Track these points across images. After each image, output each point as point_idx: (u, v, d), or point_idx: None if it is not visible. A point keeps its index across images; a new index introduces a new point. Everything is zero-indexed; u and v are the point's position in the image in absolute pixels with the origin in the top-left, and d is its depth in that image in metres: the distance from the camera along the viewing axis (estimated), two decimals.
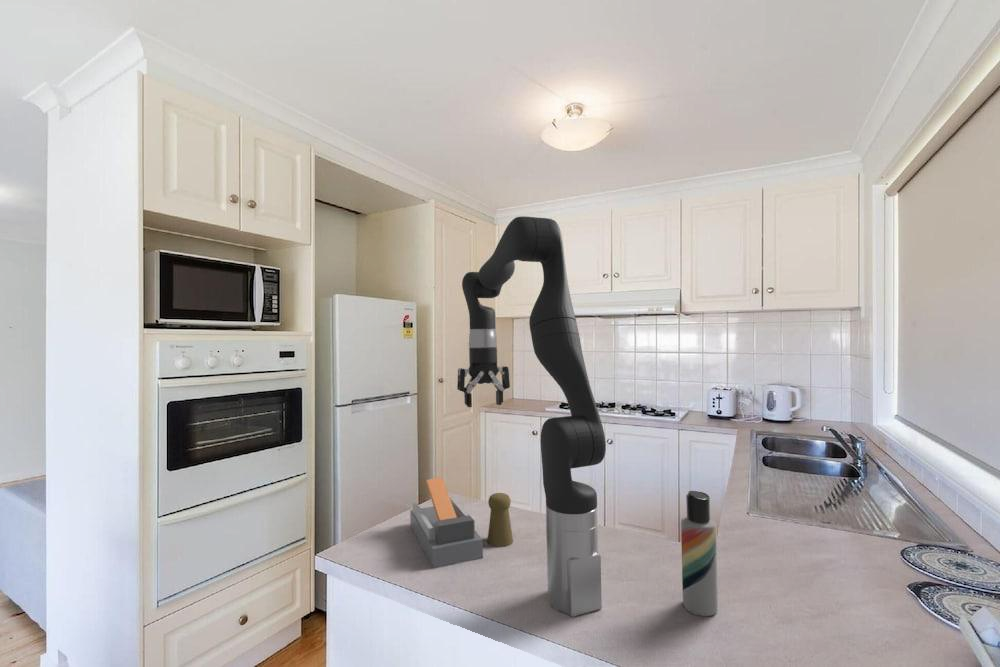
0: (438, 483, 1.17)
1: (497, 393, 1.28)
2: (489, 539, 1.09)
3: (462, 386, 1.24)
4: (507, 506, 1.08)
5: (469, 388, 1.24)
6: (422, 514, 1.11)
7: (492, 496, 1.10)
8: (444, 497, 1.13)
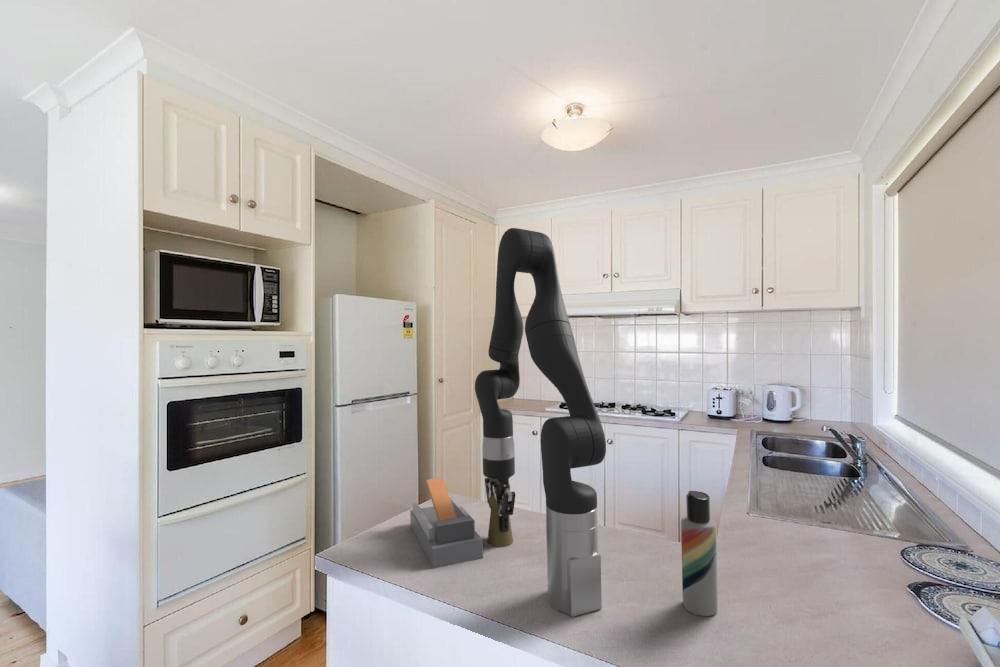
0: (438, 483, 1.17)
1: None
2: (489, 539, 1.09)
3: None
4: None
5: None
6: (422, 514, 1.11)
7: (492, 496, 1.10)
8: (444, 497, 1.13)
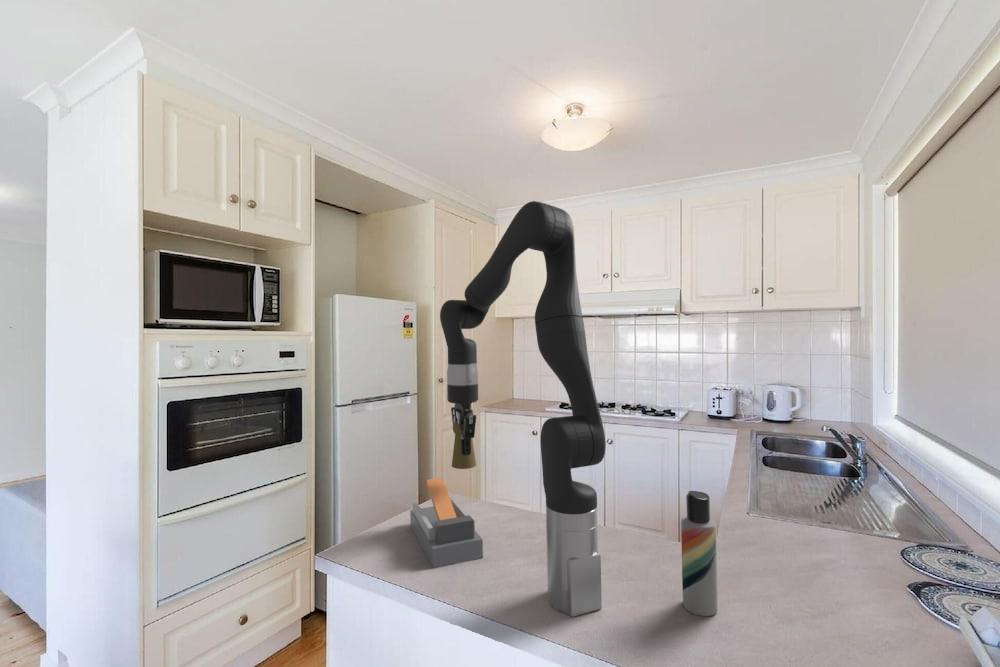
0: (438, 483, 1.17)
1: None
2: (453, 462, 1.13)
3: None
4: None
5: None
6: (422, 514, 1.11)
7: (456, 421, 1.14)
8: (444, 497, 1.13)
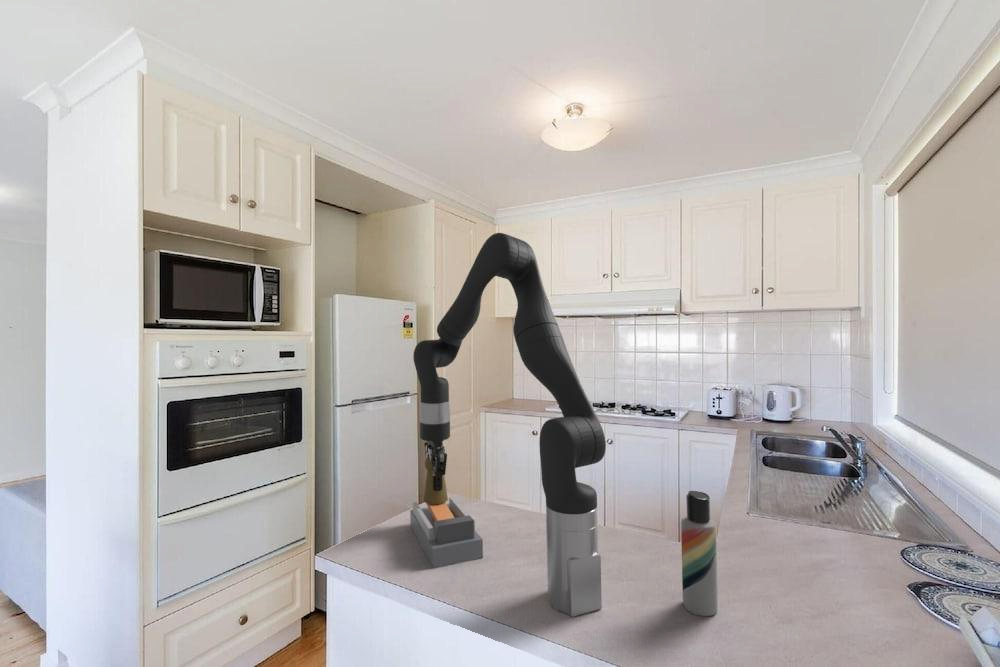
0: None
1: None
2: (425, 497, 1.17)
3: None
4: None
5: None
6: (422, 514, 1.11)
7: (428, 457, 1.17)
8: (443, 508, 1.14)
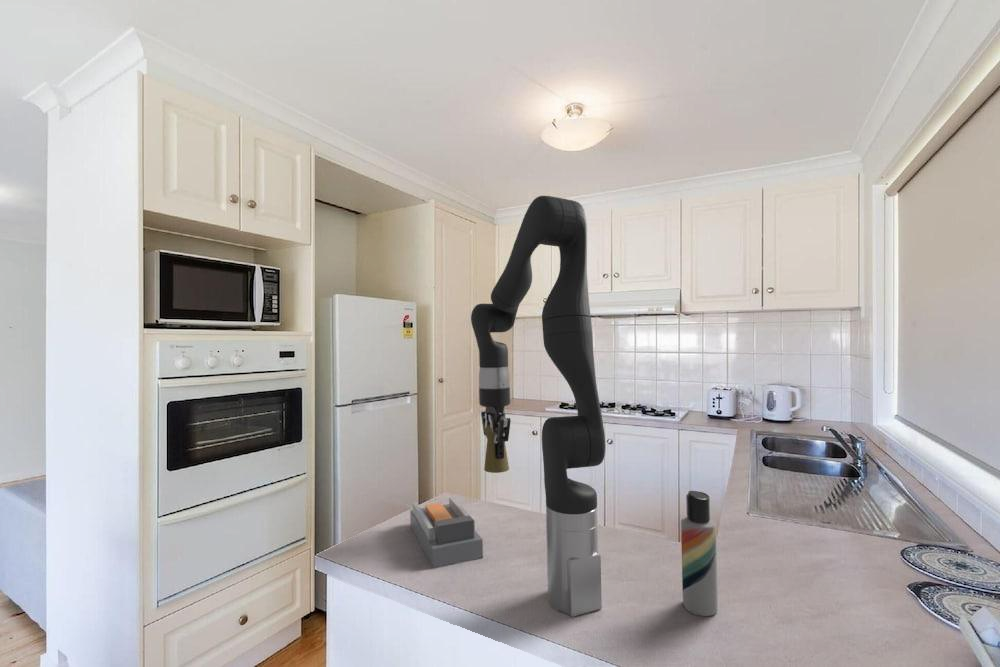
0: (437, 506, 1.19)
1: None
2: (486, 466, 1.13)
3: None
4: None
5: None
6: (422, 514, 1.11)
7: (488, 425, 1.14)
8: (443, 512, 1.14)
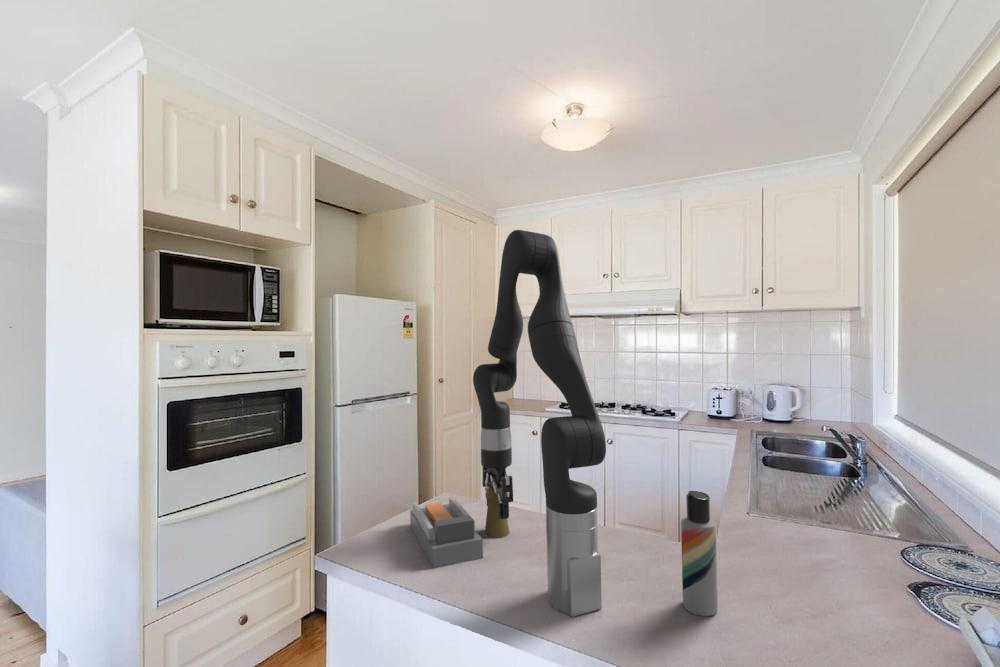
0: (437, 506, 1.19)
1: None
2: (486, 530, 1.14)
3: None
4: None
5: None
6: (422, 514, 1.11)
7: (489, 489, 1.14)
8: (443, 512, 1.14)
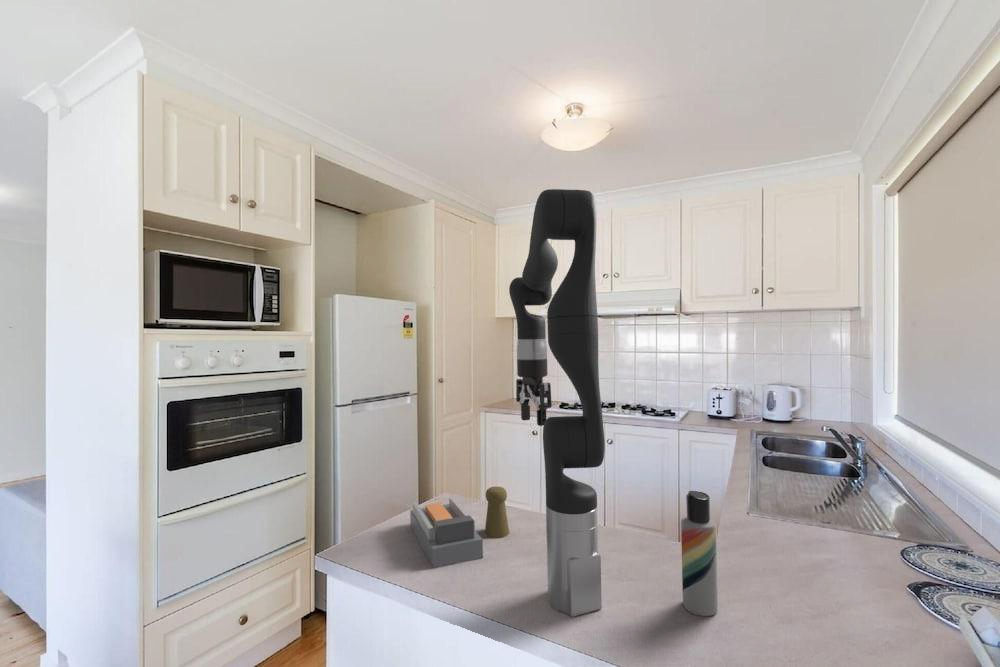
0: (437, 506, 1.19)
1: (526, 408, 1.20)
2: (486, 530, 1.14)
3: None
4: (503, 499, 1.13)
5: None
6: (422, 514, 1.11)
7: (489, 489, 1.14)
8: (443, 512, 1.14)
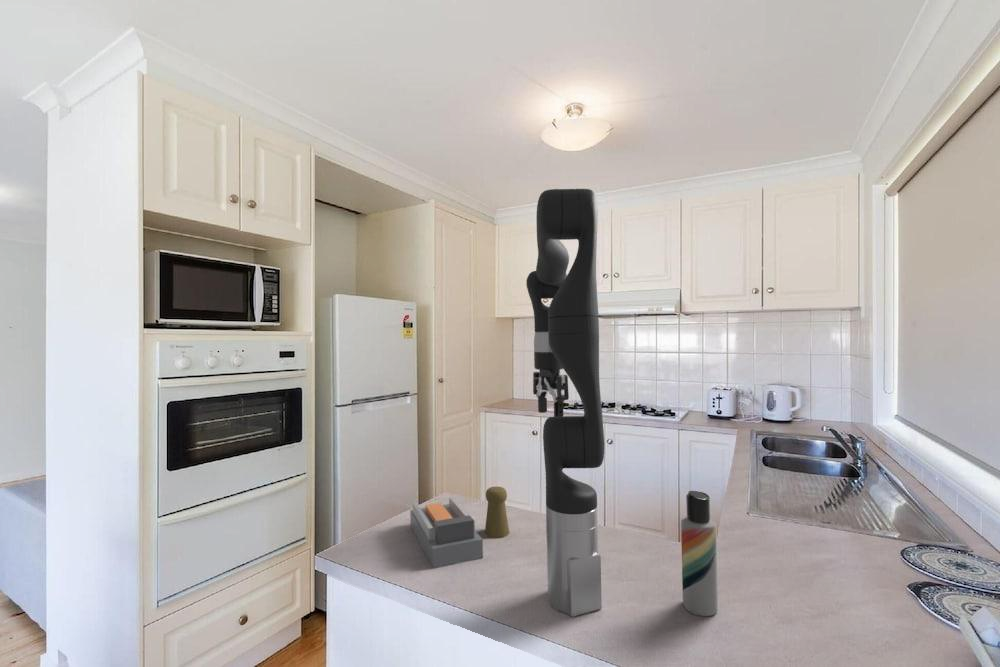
0: (437, 506, 1.19)
1: (543, 400, 1.21)
2: (486, 530, 1.14)
3: None
4: (503, 499, 1.13)
5: None
6: (422, 514, 1.11)
7: (489, 489, 1.14)
8: (443, 512, 1.14)
